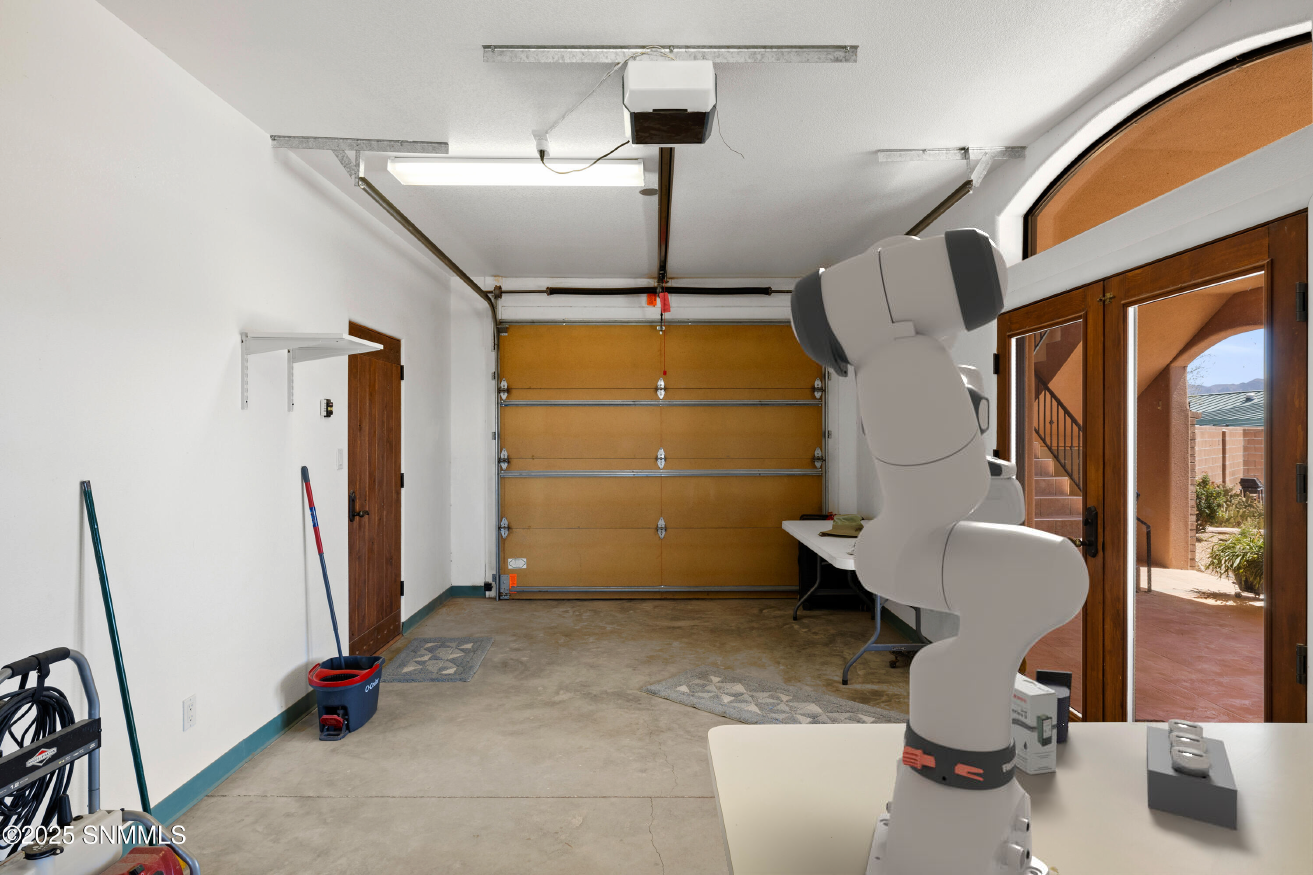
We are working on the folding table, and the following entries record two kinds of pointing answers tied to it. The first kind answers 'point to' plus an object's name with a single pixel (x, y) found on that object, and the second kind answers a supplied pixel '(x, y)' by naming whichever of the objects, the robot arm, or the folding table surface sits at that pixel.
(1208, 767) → the near knob
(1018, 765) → the ink box
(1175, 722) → the far knob
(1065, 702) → the speaker
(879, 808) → the folding table surface
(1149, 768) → the control panel
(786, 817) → the folding table surface
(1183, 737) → the middle knob
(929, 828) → the robot arm
